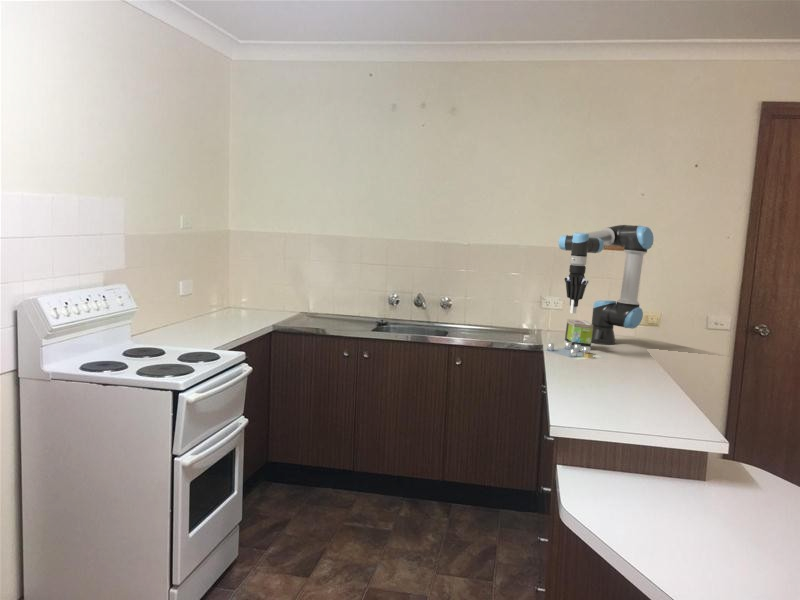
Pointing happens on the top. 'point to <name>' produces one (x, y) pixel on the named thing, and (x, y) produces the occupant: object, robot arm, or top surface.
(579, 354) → the board
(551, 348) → the set of silver spheres
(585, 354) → the nut
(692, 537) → the top surface
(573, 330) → the tea box
